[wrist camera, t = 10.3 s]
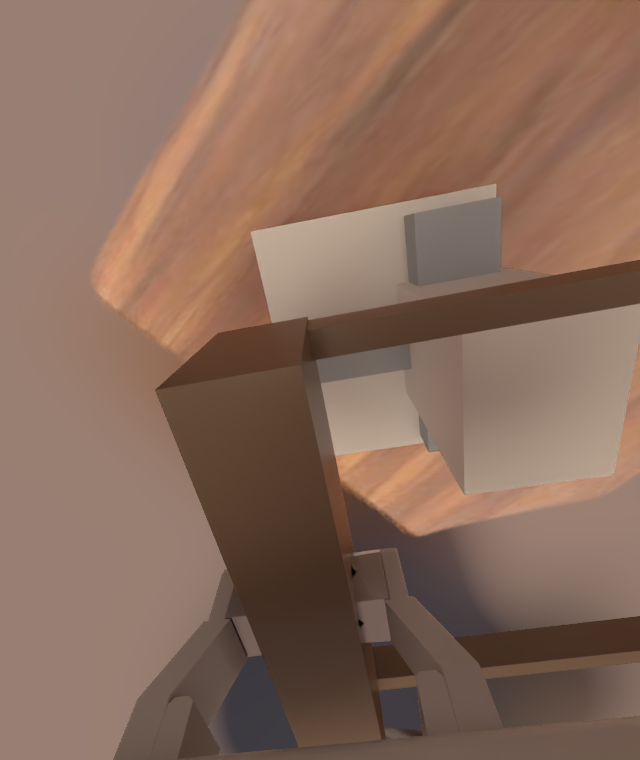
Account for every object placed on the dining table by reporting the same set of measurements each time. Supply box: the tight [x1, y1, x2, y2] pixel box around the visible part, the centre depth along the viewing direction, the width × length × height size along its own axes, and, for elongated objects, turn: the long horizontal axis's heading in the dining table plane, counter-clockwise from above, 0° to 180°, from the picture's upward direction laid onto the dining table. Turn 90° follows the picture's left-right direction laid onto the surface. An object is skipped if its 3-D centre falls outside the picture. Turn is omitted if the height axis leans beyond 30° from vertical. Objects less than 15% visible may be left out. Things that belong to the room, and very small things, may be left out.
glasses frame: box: [155, 260, 640, 748], centre depth 10 cm, size 16×15×4 cm
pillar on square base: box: [251, 184, 640, 495], centre depth 27 cm, size 22×19×22 cm
